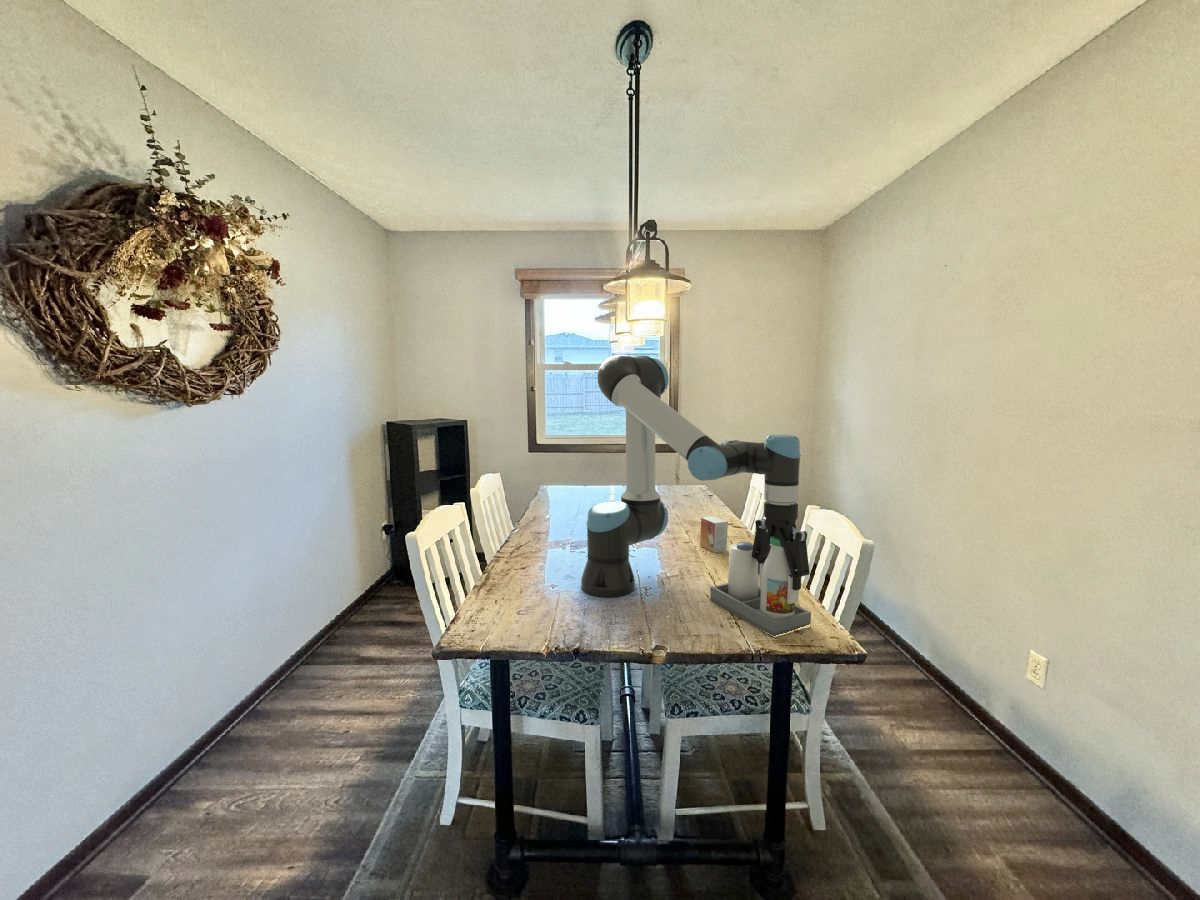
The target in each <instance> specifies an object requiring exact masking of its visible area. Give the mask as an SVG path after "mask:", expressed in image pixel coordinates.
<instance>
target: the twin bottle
mask: <svg viewBox="0 0 1200 900" xmlns="http://www.w3.org/2000/svg"><path fill="white" fill-rule="evenodd" d="M753 544H754V543H752V542H749V541H738V542H736V543H732V544H730V545H729V550H728V551H729V552H728V575H727V577H728V579H727V583H728V595H730V596H732V597H733V598H735V599H737V600H739V601H741V602H743V601H747V600H751V599H756V598H758V588H759V574H758V562H757V559H756V558H753V557H752V550H753ZM757 552H758V551H757Z"/></svg>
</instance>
